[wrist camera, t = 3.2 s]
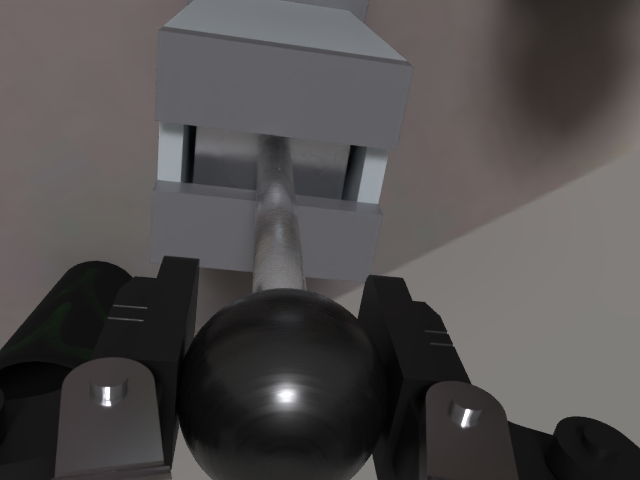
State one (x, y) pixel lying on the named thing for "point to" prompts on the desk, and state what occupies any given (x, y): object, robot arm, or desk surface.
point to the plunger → (279, 334)
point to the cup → (60, 330)
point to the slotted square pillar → (275, 124)
